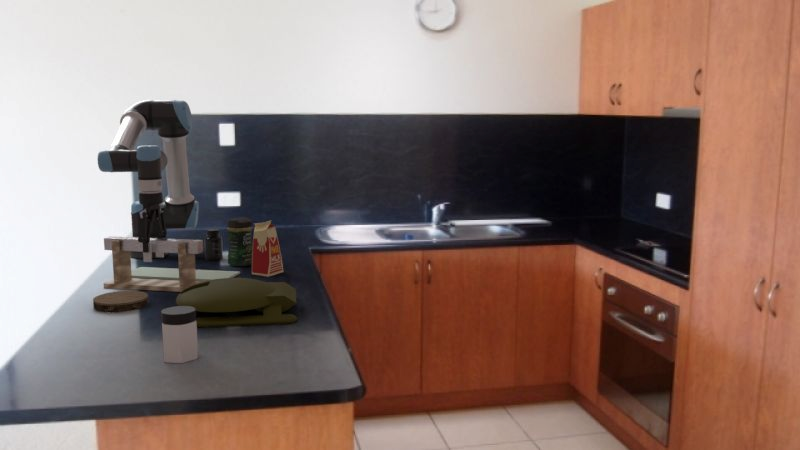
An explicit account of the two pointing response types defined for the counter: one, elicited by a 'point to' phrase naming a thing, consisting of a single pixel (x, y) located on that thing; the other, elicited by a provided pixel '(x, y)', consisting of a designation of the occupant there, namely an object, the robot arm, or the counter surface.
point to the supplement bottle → (213, 245)
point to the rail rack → (127, 282)
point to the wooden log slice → (120, 301)
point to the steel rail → (155, 244)
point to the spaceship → (240, 301)
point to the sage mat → (174, 274)
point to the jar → (179, 334)
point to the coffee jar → (240, 241)
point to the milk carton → (266, 250)
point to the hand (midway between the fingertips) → (153, 259)
